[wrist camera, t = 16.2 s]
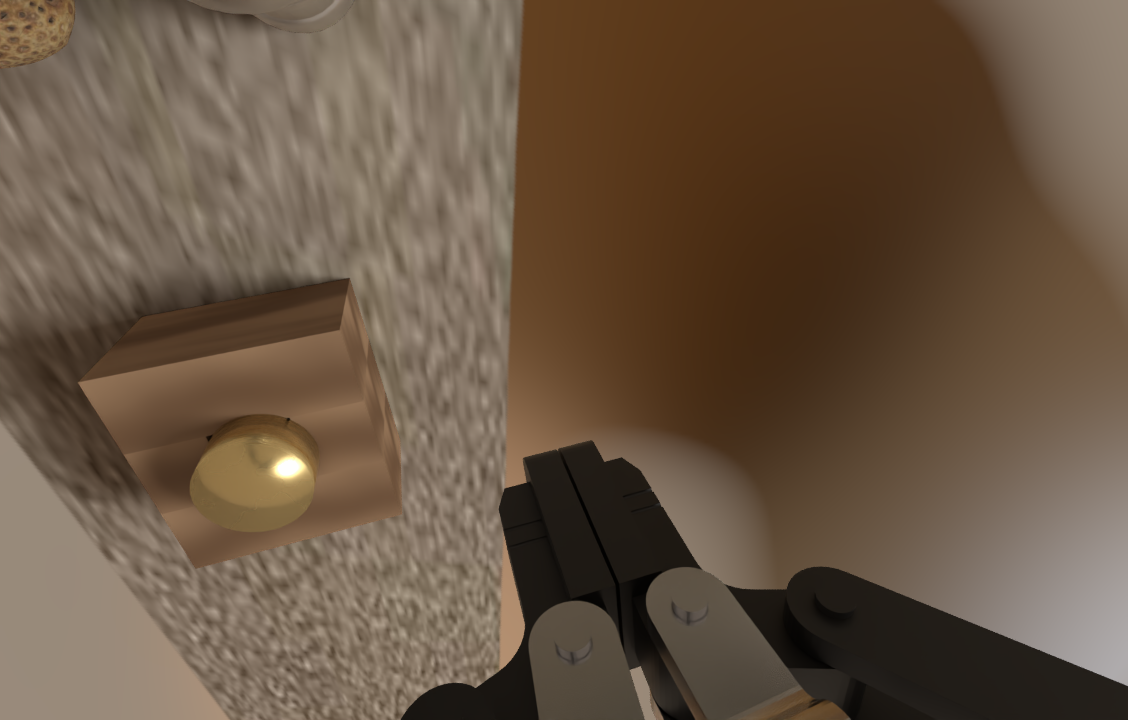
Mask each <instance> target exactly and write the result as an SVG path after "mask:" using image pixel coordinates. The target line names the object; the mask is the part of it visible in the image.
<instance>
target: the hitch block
mask: <svg viewBox="0 0 1128 720" xmlns="http://www.w3.org/2000/svg"><path fill="white" fill-rule="evenodd" d="M78 384H79V385H80V387H81V388H82V390H83V392H84V393H85V395H86V396H87V398H88V399H89V401H90V403H91V404H92V406H93V407H94V409H95V410H96V412H97V414H98V415H99V417H100V418H101V420H102V422H103V423H104V425H105V426H106V428H107V429H108V431H109V433H110V434H111V436H112V437H113V439H114V440H115V442H116V444H117V445H118V447H119V448H120V450H121V452H122V453H123V455H124V456H125V458H126V459H127V461H128V463H129V464H130V466H131V467H132V469H133V470H134V472H135V474H136V475H137V477H138V478H139V480H140V482H141V483H142V485H143V486H144V488H145V489H146V491H147V493H148V494H149V496H150V497H151V499H152V500H153V502H154V504H155V505H156V507H157V508H158V510H159V512H160V513H161V515H162V516H163V518H164V519H165V521H166V523H167V524H168V526H169V527H170V529H171V530H172V532H173V534H174V535H175V537H176V538H177V540H178V541H179V543H180V545H181V546H182V548H183V549H184V551H185V553H186V554H187V556H188V557H189V559H190V560H191V562H192V564H193V565H194V567H195V568H200V567H204V566H208V565H211V564H215V563H219V562H223V561H226V560H230V559H234V558H238V557H242V556H245V555H249V554H253V553H257V552H261V551H264V550H268V549H272V548H276V547H279V546H283V545H287V544H291V543H295V542H298V541H302V540H306V539H310V538H314V537H317V536H321V535H325V534H329V533H332V532H336V531H340V530H344V529H348V528H351V527H355V526H359V525H363V524H367V523H370V522H374V521H378V520H382V519H386V518H389V517H393V516H397V515H401V514H402V494H401V452H400V438H399V435H398V432H397V428H396V425H395V422H394V419H393V416H392V412H391V409H390V406H389V403H388V400H387V396H386V393H385V390H384V387H383V384H382V380H381V377H380V374H379V371H378V368H377V364H376V361H375V358H374V355H373V352H372V348H371V345H370V342H369V339H368V335H367V332H366V329H365V326H364V323H363V319H362V316H361V313H360V310H359V307H358V303H357V300H356V297H355V294H354V291H353V287H352V284H351V281H350V278H349V279H344V280H338V281H333V282H327V283H322V284H317V285H311V286H306V287H300V288H295V289H289V290H284V291H279V292H273V293H268V294H262V295H257V296H251V297H246V298H241V299H235V300H230V301H224V302H219V303H213V304H208V305H203V306H197V307H192V308H186V309H181V310H175V311H170V312H165V313H159V314H154V315H148V316H143V317H141V318H140V319H139V320H138V321H137V323H136V324H135V325H134V326H133V327H132V328H131V329H130V330H129V331H128V332H127V333H126V334H125V335H124V336H123V337H122V338H121V339H120V340H119V341H118V342H117V343H116V344H115V345H114V346H113V347H112V348H111V349H110V350H109V351H108V352H107V353H106V354H105V355H104V356H103V357H102V358H101V359H100V360H99V361H98V362H97V363H96V364H95V365H94V366H93V367H92V368H91V369H90V370H89V371H88V373H87V374H86V375H85V376H84V377H83V378H82V379H81V380H80V381H79V382H78ZM252 414H270V415H277V416H281V417H284V418H290V420H292V421H294V422H296V423H298V424H299V425H301V426H303V427H304V428H305V429H306V430H307V431H308V432H309V433H310V434H311V435H312V436H313V438H314V439H315V441H316V443H317V445H318V448H319V453H320V461H319V466H318V472H317V477H316V483H315V488H314V494H313V498H312V501H311V503H310V505H309V507H308V508H307V510H306V511H305V512H304V513H303V514H302V515H301V516H300V517H299V518H297V519H296V520H295V521H293V522H291V523H289V524H288V525H285V526H283V527H280V528H277V529H274V530H269V531H263V532H241V531H235V530H231V529H227V528H224V527H221V526H219V525H217V524H215V523H213V522H211V521H210V520H208V519H207V518H206V517H204V516H203V515H202V514H201V513H200V512H199V511H198V510H197V508H196V507H195V505H194V503H193V501H192V499H191V495H190V481H191V478H192V475H193V473H194V471H195V469H196V467H197V465H198V463H199V461H200V458H201V456H202V454H203V452H204V450H205V448H206V446H207V444H208V442H209V440H210V438H211V436H212V435H213V434H214V433H215V431H217V430H218V429H219V428H220V427H221V426H222V425H224V424H225V423H227V422H229V421H231V420H233V419H236V418H238V417H242V416H246V415H252Z"/></svg>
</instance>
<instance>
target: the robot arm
mask: <svg viewBox="0 0 1128 720" xmlns="http://www.w3.org/2000/svg"><path fill="white" fill-rule="evenodd" d="M523 464H524V470H525V475H526V481H527V483H524V484H520V485H516V486H513V487H509V488H505V489H504V492H503V496H502V499H501V503H500V506H499V513H500V517H501V522H502V527H503V531H504V536H505V540H506V545H507V550H508V554H509V559H510V563H511V567H512V571H513V576H514V580H515V584H516V588H517V592H518V597H519V600H520V605H521V609H522V613H523V618H524V622H525V631H524V637H523V640H522V643H521V645H520V647H519V649H518V651H517V653H516V654H515V655H514V657H513V658H512V660H511V661H510V662H509V663H508V664H507V665H506V666H505V667H504V668H503V669H501V670H500V671H499V672H498V673H496V674H495V675H493V676H492V677H491V678H489V679H488V680H486V681H485V682H484V683H482V684H481V685H479V686H478V687H477V688H474V687H472V686H471V685H467V684H463V683H448V684H444V685H440V686H437V687H435V688H433V689H431V690H429V691H427V692H426V693H424V694H423V695H421V696H420V697H419V698H418V699H417V700H415V702H414V703H413V704H412V705H411V706H410V707H409V708H408V709H407V711H406V712H405V714H404V715H403V717H402V718H401V720H645V719H644V716H643V712H642V709H641V706H640V703H639V699H638V696H637V693H636V690H635V686H634V683H633V680H632V677H631V673H630V670H631V669H633V668H636V667H639V666H641V668H642V670H643V673H644V675H645V678H646V680H647V683H648V685H649V688H650V703H651V707H652V711H653V713H654V716H655V718H656V720H1128V686H1126V685H1124V684H1121V683H1119V682H1116V681H1114V680H1111V679H1109V678H1106V677H1104V676H1101V675H1099V674H1097V673H1094V672H1092V671H1089V670H1087V669H1084V668H1081V667H1079V666H1077V665H1074V664H1072V663H1069V662H1067V661H1064V660H1062V659H1059V658H1057V657H1055V656H1052V655H1050V654H1047V653H1045V652H1042V651H1040V650H1037V649H1035V648H1032V647H1029V646H1027V645H1025V644H1022V643H1020V642H1018V641H1015V640H1013V639H1010V638H1008V637H1005V636H1003V635H1000V634H998V633H995V632H993V631H990V630H988V629H985V628H983V627H980V626H978V625H975V624H973V623H971V622H968V621H966V620H963V619H961V618H958V617H956V616H953V615H951V614H948V613H946V612H943V611H941V610H938V609H936V608H933V607H931V606H929V605H926V604H924V603H921V602H919V601H916V600H914V599H911V598H909V597H906V596H904V595H901V594H899V593H896V592H894V591H892V590H889V589H886V588H884V587H882V586H879V585H877V584H874V583H872V582H869V581H867V580H864V579H862V578H859V577H857V576H854V575H852V574H850V573H847V572H844V571H841V570H839V569H835V568H830V567H812V568H807V569H804V570H802V571H800V572H798V573H797V574H795V575H794V576H793V578H791V580H790V582H789V583H788V587H787V590H753V589H752V590H751V589H740V588H735V587H731V586H728V585H725V584H724V583H723V582H722V581H720V580H719V579H718V578H717V577H715V576H714V575H712V574H711V573H708V572H706V571H704V570H702V569H701V568H700V566H699V565H698V564H697V562H696V561H695V559H694V557H693V556H692V554H691V553H690V551H689V549H688V548H687V546H686V544H685V543H684V541H683V539H682V538H681V536H680V535H679V533H678V531H677V530H676V528H675V526H674V525H673V523H672V521H671V520H670V518H669V517H668V515H667V513H666V512H665V510H664V508H663V507H661V505H660V502H659V500H658V499H657V497H656V495H655V494H654V492H652V490H651V487H650V485H649V484H648V482H647V481H646V479H645V477H644V476H643V474H642V473H641V471H640V470H639V469H638V468H636V467H635V466H633V465H632V464H630V463H629V462H627V461H626V460H625V459H623V458H618V459H614V460H610V461H606V462H604V461H603V459H602V457H601V455H600V453H599V451H598V449H597V448H596V446H595V444H594V442H593V441H591V440H590V441H587V442H582V443H578V444H575V445H571V446H567V447H563V448H559V449H558V451H557V450H552V451H548V452H544V453H541V454H536V455H532V456H528V457H525V458H523Z"/></svg>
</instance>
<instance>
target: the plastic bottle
mask: <svg viewBox="0 0 1128 720" xmlns="http://www.w3.org/2000/svg"><path fill="white" fill-rule="evenodd" d="M187 1H190V2H192V3H194V4H197V5H199V6H202V7H204V8H207V9H211V10H216V11H220V12H225V13H229V14H252V15H254V16H255V17H257V18H258V19H260V20H261V21H263V22H265V23H266V24H269V25H271V26H273V27H276V28H278V29H280V30H285V31H289V32H294V33H312V32H317V31H322V30H324V29H326V28H328V27H330V26H332V25H334V24H336V23H337V22H338V21H339V20H340V19H341V18H343V17H344V16H345V14H346V13H347V12H348V10H349V9H350V7H351V6H352V4H353V2H354V0H187Z"/></svg>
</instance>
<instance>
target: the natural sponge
mask: <svg viewBox="0 0 1128 720" xmlns="http://www.w3.org/2000/svg"><path fill="white" fill-rule="evenodd" d="M74 19H75V0H0V69H3V68H10V67H17V66H22V65H26V64H31V63H34V62H37V61H40V60H42V59H45V58H47V57H49V56H51V55H53V54H55V53H56V52H58V51H59V50H61V49H62V48H63V47H64V46H66V45H67V42H68V40H69V38H70V35H71V32H72V28H73V24H74Z"/></svg>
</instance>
